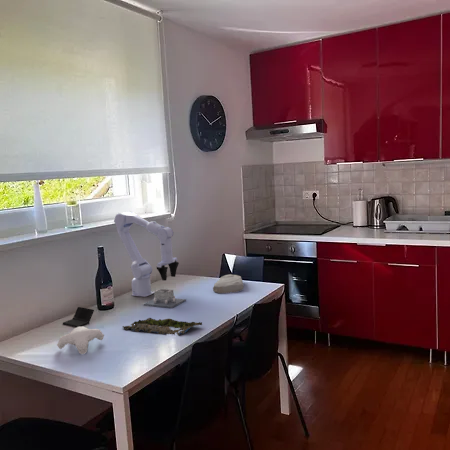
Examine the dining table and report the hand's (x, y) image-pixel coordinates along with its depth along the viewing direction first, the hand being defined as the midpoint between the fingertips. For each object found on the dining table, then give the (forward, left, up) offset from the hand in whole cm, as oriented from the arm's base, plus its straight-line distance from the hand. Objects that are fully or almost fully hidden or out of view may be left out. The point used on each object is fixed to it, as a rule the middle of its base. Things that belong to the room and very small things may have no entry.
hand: (168, 278), depth 235 cm
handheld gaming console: (-17, -45, -10) cm, 50 cm away
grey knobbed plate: (+4, -10, -9) cm, 15 cm away
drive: (+4, -10, -9) cm, 14 cm away
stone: (+23, +23, -10) cm, 34 cm away
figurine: (+6, -66, -10) cm, 67 cm away
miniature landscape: (+24, -40, -10) cm, 48 cm away
